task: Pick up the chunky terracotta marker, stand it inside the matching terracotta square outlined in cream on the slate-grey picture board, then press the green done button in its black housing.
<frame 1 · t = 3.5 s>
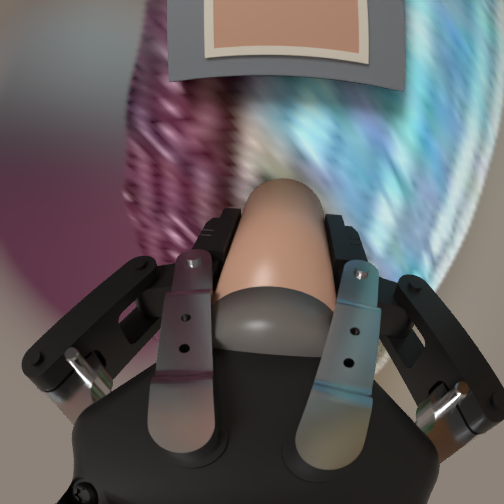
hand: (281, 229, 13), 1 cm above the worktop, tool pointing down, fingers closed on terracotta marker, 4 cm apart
terracotta marker: (283, 215, 14), on the worktop, touching gripper
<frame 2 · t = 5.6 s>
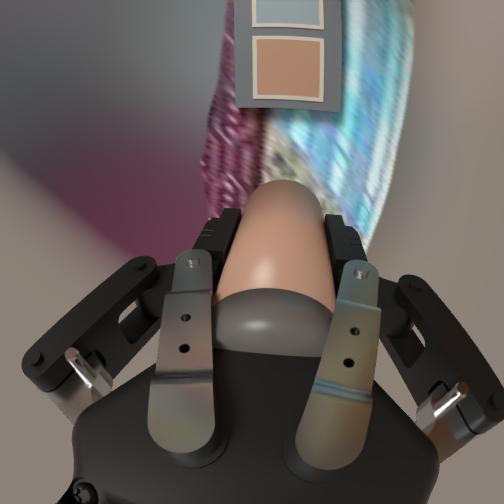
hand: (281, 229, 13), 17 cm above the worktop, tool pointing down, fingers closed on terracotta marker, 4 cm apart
picture board: (288, 33, 19), on the worktop
terracotta marker: (283, 216, 14), point 15 cm above the worktop, touching gripper
when the fingers open (4 cm above the worktop, at t = 8.0 s): terracotta marker stays where it is, resting on picture board.
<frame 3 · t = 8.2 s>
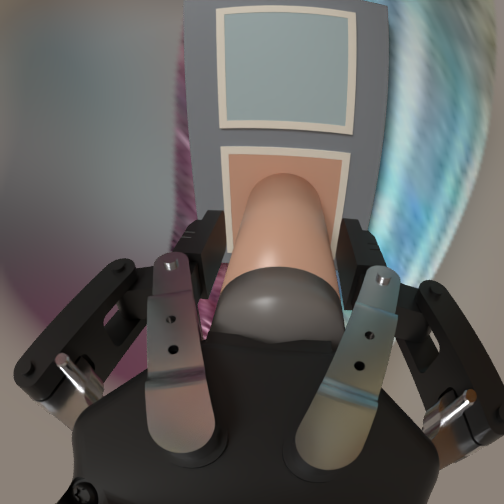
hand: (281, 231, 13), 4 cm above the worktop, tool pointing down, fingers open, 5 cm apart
picture board: (286, 134, 13), on the worktop
terracotta marker: (284, 207, 15), point 1 cm above the worktop, touching picture board
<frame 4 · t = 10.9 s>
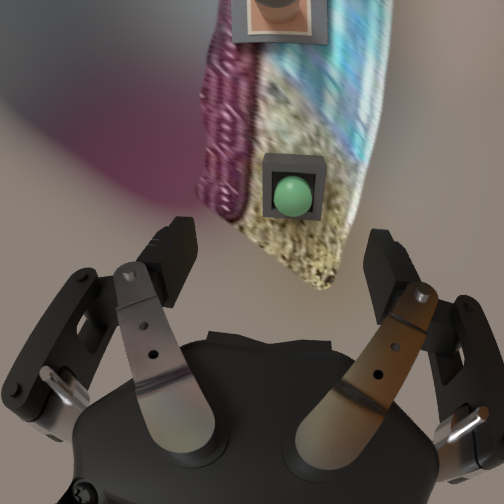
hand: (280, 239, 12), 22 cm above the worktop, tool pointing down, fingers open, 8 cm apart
terracotta marker: (279, 8, 19), point 1 cm above the worktop, touching picture board
done button: (293, 196, 29), point 4 cm above the worktop, slide at 0.0 cm
button housing: (293, 180, 33), on the worktop
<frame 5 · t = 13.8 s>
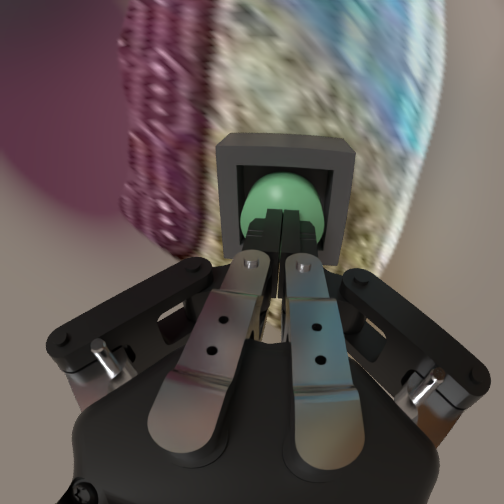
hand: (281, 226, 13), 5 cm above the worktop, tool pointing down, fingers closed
done button: (283, 215, 14), point 4 cm above the worktop, slide at 0.5 cm, touching gripper
button housing: (285, 185, 17), on the worktop
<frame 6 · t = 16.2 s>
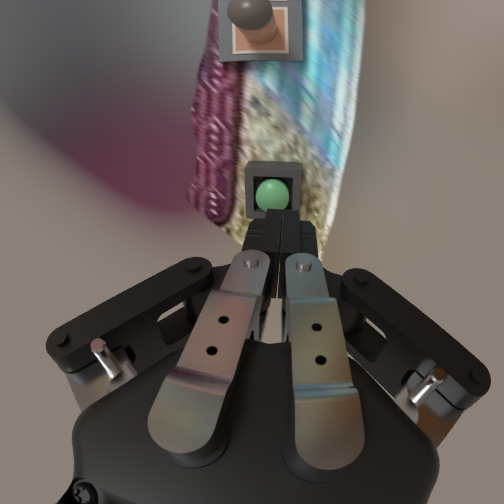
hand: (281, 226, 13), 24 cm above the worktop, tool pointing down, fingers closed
picture board: (260, 6, 23), on the worktop
terracotta marker: (260, 29, 24), point 1 cm above the worktop, touching picture board
done button: (272, 195, 33), point 3 cm above the worktop, slide at 1.0 cm
button housing: (274, 185, 36), on the worktop
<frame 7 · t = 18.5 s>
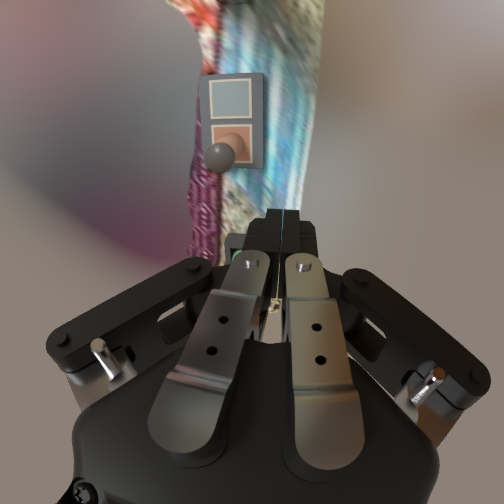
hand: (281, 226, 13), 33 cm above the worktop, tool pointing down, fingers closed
picture board: (232, 120, 40), on the worktop
terracotta marker: (232, 144, 42), point 1 cm above the worktop, touching picture board
done button: (243, 259, 52), point 3 cm above the worktop, slide at 1.0 cm
button housing: (246, 248, 55), on the worktop
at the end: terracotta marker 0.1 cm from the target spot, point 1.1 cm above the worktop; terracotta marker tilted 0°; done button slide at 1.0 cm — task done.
